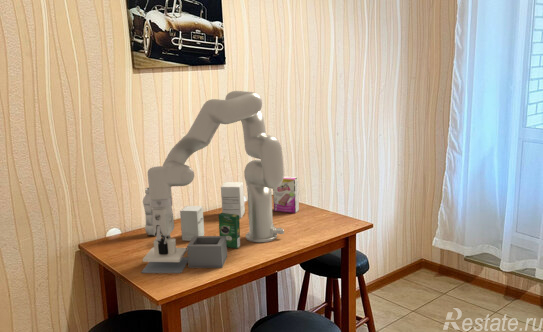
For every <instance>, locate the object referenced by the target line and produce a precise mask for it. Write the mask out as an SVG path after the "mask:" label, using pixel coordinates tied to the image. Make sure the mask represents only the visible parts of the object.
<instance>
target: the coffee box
mask: <svg viewBox="0 0 543 332" xmlns="http://www.w3.org/2000/svg"><path fill="white" fill-rule="evenodd" d="M240 225H241V224H240V218H239V215H235V214H227V213H222V212H221V213H218V230H219V231H218V232H219V235H218V236H226V243H227V248H231V249H237V250H238V249H240V247H241V231H240V228H241V227H240Z"/></svg>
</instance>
